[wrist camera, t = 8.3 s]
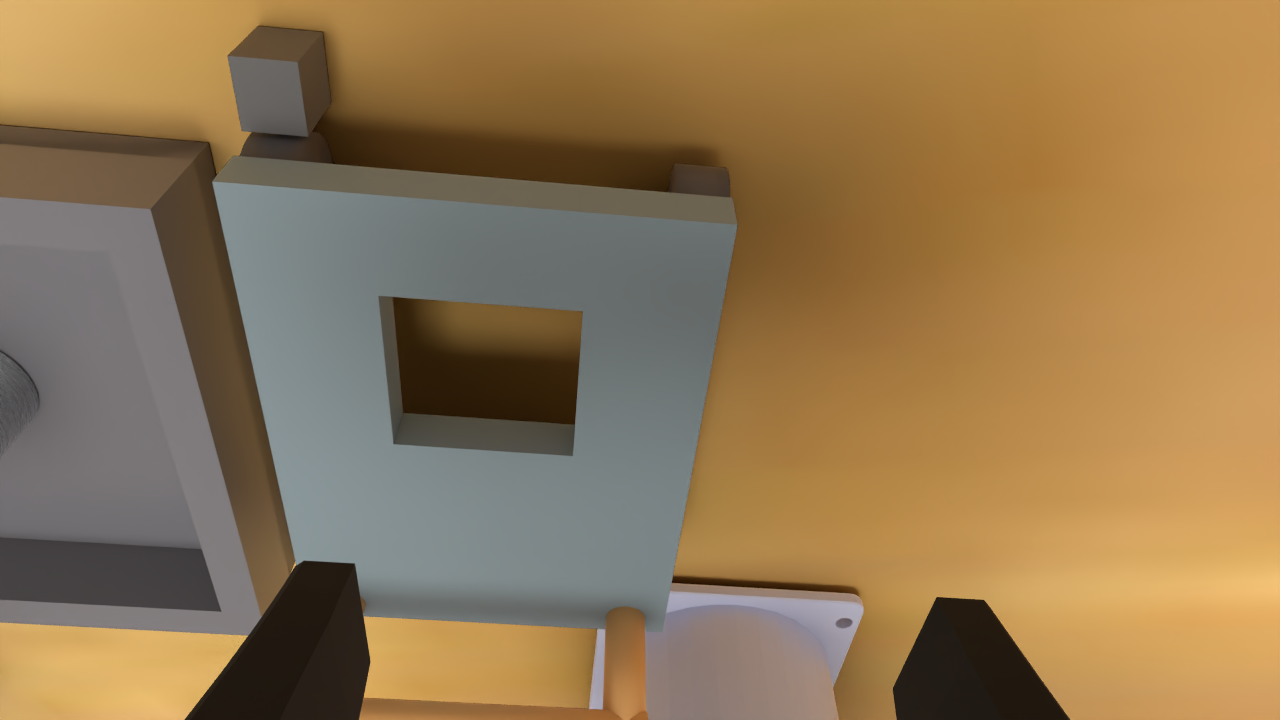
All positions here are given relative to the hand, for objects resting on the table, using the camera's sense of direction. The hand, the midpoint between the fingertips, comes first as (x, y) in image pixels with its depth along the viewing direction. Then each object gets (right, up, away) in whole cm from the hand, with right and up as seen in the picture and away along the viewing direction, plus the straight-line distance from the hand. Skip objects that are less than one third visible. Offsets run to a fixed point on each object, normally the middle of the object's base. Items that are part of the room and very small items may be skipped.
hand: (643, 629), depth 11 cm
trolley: (-3, +4, +10) cm, 12 cm away
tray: (-16, +3, +11) cm, 19 cm away
